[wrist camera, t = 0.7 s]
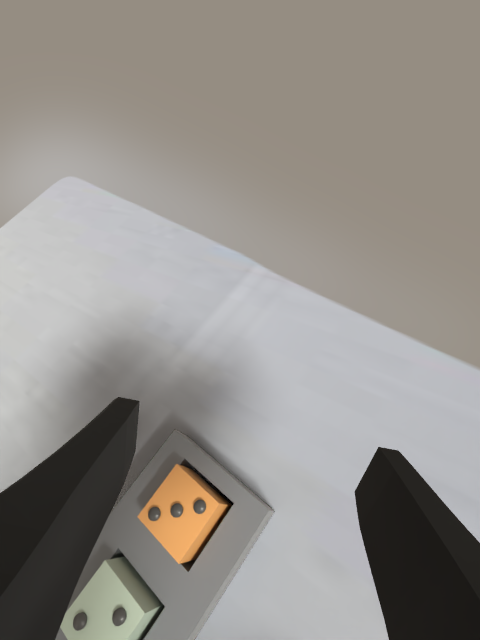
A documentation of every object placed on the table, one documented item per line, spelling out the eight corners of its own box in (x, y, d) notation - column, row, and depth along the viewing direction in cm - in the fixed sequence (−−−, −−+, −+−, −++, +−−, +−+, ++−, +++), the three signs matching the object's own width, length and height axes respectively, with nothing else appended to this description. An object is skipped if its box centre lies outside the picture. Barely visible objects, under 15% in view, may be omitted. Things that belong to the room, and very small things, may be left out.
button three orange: (195, 559, 23) (177, 564, 20) (157, 517, 25) (135, 516, 22) (231, 505, 24) (218, 503, 21) (192, 469, 26) (175, 463, 23)
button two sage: (124, 666, 21) (93, 687, 18) (88, 612, 23) (55, 624, 20) (166, 602, 22) (143, 614, 19) (129, 555, 24) (103, 560, 21)
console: (53, 865, 18) (16, 911, 16) (-15, 703, 23) (-51, 722, 20) (274, 511, 24) (268, 510, 22) (186, 435, 28) (174, 429, 26)
